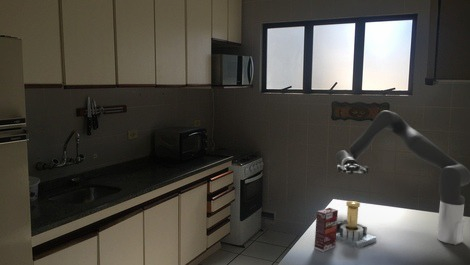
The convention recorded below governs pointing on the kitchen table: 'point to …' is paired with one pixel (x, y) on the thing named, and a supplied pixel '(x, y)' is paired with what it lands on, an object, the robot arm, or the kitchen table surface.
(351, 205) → the bushing
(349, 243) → the jig
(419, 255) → the kitchen table surface
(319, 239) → the supplement box
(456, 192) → the robot arm
